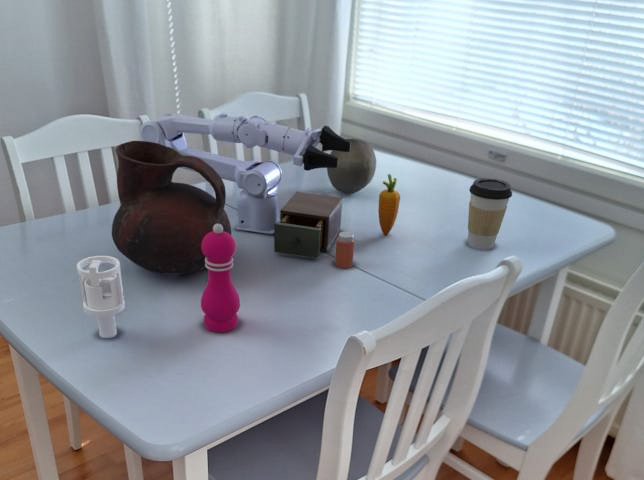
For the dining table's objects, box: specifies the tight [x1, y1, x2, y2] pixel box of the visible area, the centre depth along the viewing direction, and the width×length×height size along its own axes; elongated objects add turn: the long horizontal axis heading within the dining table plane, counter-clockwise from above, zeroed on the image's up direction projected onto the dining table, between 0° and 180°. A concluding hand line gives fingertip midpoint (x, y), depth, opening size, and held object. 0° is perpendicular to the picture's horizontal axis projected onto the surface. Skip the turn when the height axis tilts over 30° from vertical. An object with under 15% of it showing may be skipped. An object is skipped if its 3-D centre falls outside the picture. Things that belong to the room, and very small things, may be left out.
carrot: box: [378, 173, 401, 237], centre depth 161 cm, size 5×5×15 cm
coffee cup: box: [467, 177, 513, 251], centre depth 159 cm, size 10×10×15 cm
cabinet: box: [279, 191, 343, 253], centre depth 160 cm, size 14×12×9 cm
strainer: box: [76, 255, 126, 339], centre depth 117 cm, size 7×7×15 cm
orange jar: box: [334, 231, 356, 269], centre depth 148 cm, size 4×4×7 cm
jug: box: [111, 140, 232, 275], centre depth 140 cm, size 25×25×25 cm
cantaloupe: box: [326, 138, 377, 195], centre depth 186 cm, size 14×14×15 cm
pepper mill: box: [200, 224, 241, 333], centre depth 120 cm, size 7×7×20 cm
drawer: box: [273, 214, 326, 259], centre depth 154 cm, size 14×10×7 cm
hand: (344, 154), depth 149 cm, fingers open, 7 cm apart
